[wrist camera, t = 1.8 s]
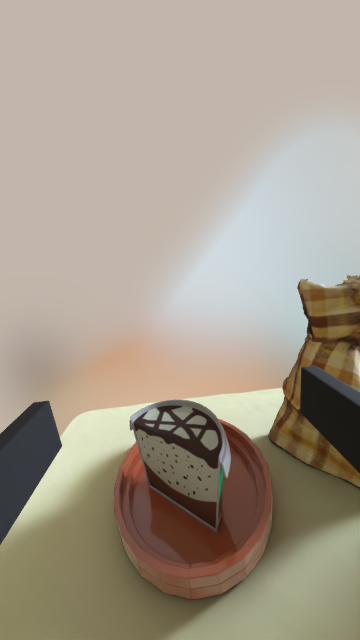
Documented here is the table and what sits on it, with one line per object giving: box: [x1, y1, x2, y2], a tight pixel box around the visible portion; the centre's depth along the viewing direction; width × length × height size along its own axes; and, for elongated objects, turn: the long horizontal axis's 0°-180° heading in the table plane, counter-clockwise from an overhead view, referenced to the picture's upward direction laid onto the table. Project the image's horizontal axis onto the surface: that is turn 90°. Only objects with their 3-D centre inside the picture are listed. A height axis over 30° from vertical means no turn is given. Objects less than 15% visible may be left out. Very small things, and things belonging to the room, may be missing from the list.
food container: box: [130, 400, 231, 533], centre depth 24 cm, size 12×6×10 cm, turn 57°
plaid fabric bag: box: [268, 275, 360, 487], centre depth 25 cm, size 14×14×25 cm
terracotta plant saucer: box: [114, 419, 273, 599], centre depth 25 cm, size 18×18×3 cm
